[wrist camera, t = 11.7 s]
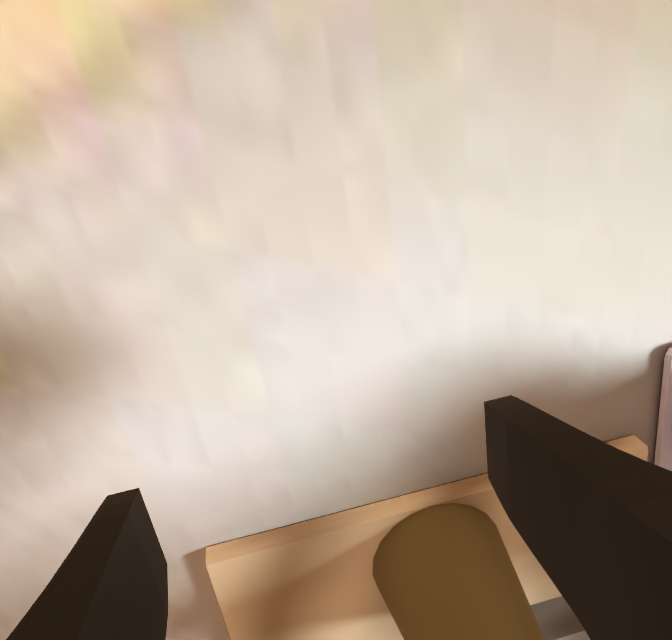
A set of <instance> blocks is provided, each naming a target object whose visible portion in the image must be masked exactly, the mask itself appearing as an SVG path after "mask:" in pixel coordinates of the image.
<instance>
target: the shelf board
mask: <svg viewBox="0 0 672 640" xmlns="http://www.w3.org/2000/svg"><path fill="white" fill-rule="evenodd" d="M605 443H607V444H609V445H611V446H613V447H615V448H618V449H620V450H622V451H624V452H627V453H629V454H631V455H634V456H636V457H638V458H640V459H643V460H645V461H647V458H648V446H647V445H646V444H644V443H643V442H642V441H641V440H640V439H639V438H638V437H636V436H635V435H630V436H627V437H623V438H619V439H615V440H611V441H608V442H605ZM449 503H456V504H463V505H470V506H473V507H475V508H477V509H479V510H481V511H483V512H485V513H486V514H487V515H488V516H489V517H490V518H491V520H492V521H493V522H494V523H495V524H496V526H497V529H498V531H499V533H500V536H501V538H502V540H503V543H504V545H505V547H506V550H507V552H508V554H509V557H510V559H511V562H512V564H513V566H514V569H515V571H516V573H517V576H518V578H519V580H520V583H521V585H522V587H523V590H524V592H525V595H526V597H527V599H528V602H529V604H530V606H531V609H532V611H533V613H534V616H535V618H536V620H537V623H538V625H539V628H540V630H541V632H542V635H543V637H544V639H545V640H590V638H589V636H588V635H587V633H586V631H585V629H584V628H583V626H582V625H581V623H580V622H579V620H578V618H577V617H576V615H575V614H574V612H573V611H572V609H571V608H570V606H569V605H568V603H567V602H566V601H565V599H564V598H563V596H562V595H561V593H560V592H559V591H558V589H557V588H556V586H555V585H554V583H553V582H552V580H551V579H550V578H549V576H548V575H547V573H546V572H545V570H544V569H543V568H542V566H541V565H540V563H539V562H538V560H537V559H536V558H535V556H534V555H533V553H532V552H531V550H530V549H529V547H528V546H527V545H526V543H525V542H524V540H523V539H522V537H521V536H520V534H519V533H518V531H517V530H516V528H515V527H514V525H513V524H512V523H511V521H510V519H509V518H508V516H507V514H506V512H505V510H504V508H503V506H502V505H501V503H500V501H499V499H498V497H497V495H496V493H495V491H494V489H493V487H492V485H491V483H490V481H489V479H488V473H486V474H482V475H479V476H475V477H471V478H467V479H464V480H460V481H456V482H452V483H448V484H445V485H441V486H437V487H433V488H429V489H426V490H422V491H418V492H414V493H410V494H407V495H403V496H399V497H395V498H391V499H388V500H384V501H380V502H376V503H372V504H369V505H365V506H361V507H357V508H354V509H350V510H346V511H342V512H338V513H335V514H331V515H327V516H323V517H319V518H316V519H312V520H308V521H304V522H300V523H297V524H293V525H289V526H285V527H281V528H278V529H274V530H270V531H266V532H263V533H259V534H255V535H251V536H247V537H244V538H240V539H236V540H232V541H228V542H225V543H221V544H217V545H213V546H209V547H206V568H207V571H208V574H209V577H210V580H211V583H212V586H213V588H214V591H215V594H216V597H217V600H218V603H219V606H220V609H221V612H222V615H223V618H224V621H225V624H226V627H227V630H228V633H229V636H230V639H231V640H404V639H403V637H402V635H401V633H400V631H399V629H398V627H397V625H396V623H395V621H394V619H393V617H392V615H391V613H390V611H389V609H388V607H387V605H386V603H385V601H384V599H383V597H382V595H381V593H380V591H379V589H378V587H377V585H376V582H375V580H374V577H373V575H372V573H373V558H374V555H375V553H376V551H377V549H378V546H379V544H380V542H381V541H382V539H383V538H384V537H385V536H386V535H387V534H388V532H389V531H390V530H391V529H392V528H393V526H395V525H396V524H398V523H399V522H401V521H402V520H403V519H405V518H406V517H408V516H409V515H411V514H412V513H415V512H417V511H420V510H422V509H425V508H428V507H430V506H434V505H442V504H449Z"/></svg>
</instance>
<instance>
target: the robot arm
mask: <svg viewBox="0 0 672 640" xmlns="http://www.w3.org/2000/svg"><path fill="white" fill-rule="evenodd" d="M484 407H485V426H486V445H487V464H488V479H489V481H490V483H491V485H492V487H493V489H494V491H495V493H496V495H497V497H498V499H499V501H500V503H501V505H502V506H503V508H504V510H505V512H506V514H507V516H508V518H509V519H510V521H511V523H512V524H513V525H514V527H515V528H516V530H517V531H518V533H519V534H520V536H521V537H522V539H523V540H524V542H525V543H526V545H527V546H528V547H529V549H530V550H531V552H532V553H533V555H534V556H535V558H536V559H537V560H538V562H539V563H540V565H541V566H542V568H543V569H544V570H545V572H546V573H547V575H548V576H549V578H550V579H551V580H552V582H553V583H554V585H555V586H556V588H557V589H558V591H559V592H560V593H561V595H562V596H563V598H564V599H565V601H566V602H567V603H568V605H569V606H570V608H571V609H572V611H573V612H574V614H575V615H576V617H577V618H578V620H579V622H580V623H581V625H582V626H583V628H584V629H585V631H586V633H587V635H588V636H589V638H590V640H672V347H671V348H670V349H668V351H667V352H666V354H665V358H664V369H663V379H662V389H661V400H660V410H659V420H658V431H657V441H656V452H655V462H654V464H652V463H650V462H647V461H645V460H643V459H640V458H638V457H636V456H634V455H631V454H629V453H627V452H624V451H622V450H620V449H618V448H615V447H613V446H611V445H609V444H607V443H605V442H603V441H600V440H598V439H596V438H594V437H592V436H590V435H588V434H586V433H584V432H582V431H580V430H578V429H576V428H574V427H572V426H570V425H568V424H567V423H565V422H563V421H561V420H559V419H557V418H555V417H553V416H551V415H549V414H547V413H546V412H544V411H542V410H540V409H538V408H536V407H534V406H532V405H530V404H528V403H526V402H524V401H522V400H520V399H518V398H516V397H514V396H512V395H510V396H506V397H502V398H498V399H494V400H490V401H486V402H484ZM167 618H168V581H167V562H166V559H165V557H164V554H163V551H162V549H161V546H160V543H159V541H158V538H157V535H156V533H155V530H154V527H153V525H152V522H151V519H150V517H149V514H148V511H147V509H146V506H145V503H144V501H143V498H142V495H141V493H140V490H139V488H137V489H133V490H129V491H124V492H120V493H116V494H112V495H108V496H107V497H106V499H105V500H104V502H103V503H102V504H101V506H100V507H99V509H98V510H97V512H96V513H95V515H94V516H93V518H92V519H91V521H90V522H89V524H88V526H87V527H86V529H85V530H84V532H83V533H82V535H81V536H80V538H79V539H78V541H77V542H76V544H75V545H74V547H73V548H72V550H71V551H70V553H69V554H68V556H67V557H66V559H65V560H64V562H63V563H62V565H61V566H60V568H59V569H58V570H57V572H56V573H55V575H54V576H53V578H52V579H51V581H50V582H49V584H48V585H47V586H46V588H45V589H44V591H43V592H42V593H41V595H40V596H39V597H38V599H37V600H36V601H35V603H34V604H33V605H32V607H31V608H30V609H29V611H28V612H27V613H26V615H25V616H24V617H23V619H22V620H21V621H20V623H19V624H18V625H17V627H16V628H15V629H14V630H13V632H12V633H11V634H10V635H9V637H8V638H7V639H6V640H165V638H166V628H167Z"/></svg>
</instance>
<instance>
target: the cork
mask: <svg viewBox="0 0 672 640" xmlns="http://www.w3.org/2000/svg"><path fill="white" fill-rule="evenodd" d="M372 575H373V577H374V580H375V582H376V585H377V587H378V589H379V591H380V593H381V595H382V597H383V599H384V601H385V603H386V605H387V607H388V609H389V611H390V613H391V615H392V617H393V619H394V621H395V623H396V625H397V627H398V629H399V631H400V633H401V635H402V637H403V639H404V640H545V639H544V637H543V635H542V632H541V630H540V628H539V625H538V623H537V620H536V618H535V616H534V613H533V611H532V609H531V606H530V604H529V602H528V599H527V597H526V595H525V592H524V590H523V587H522V585H521V583H520V580H519V578H518V576H517V573H516V571H515V569H514V566H513V564H512V562H511V559H510V557H509V554H508V552H507V550H506V547H505V545H504V543H503V540H502V538H501V536H500V533H499V531H498V529H497V526H496V524H495V523H494V522H493V521H492V520H491V518H490V517H489V516H488V515H487V514H486V513H485V512H483V511H481V510H479V509H477V508H475V507H473V506H470V505H463V504H456V503H449V504H442V505H434V506H430V507H428V508H425V509H422V510H420V511H417V512H415V513H412V514H411V515H409V516H408V517H406V518H405V519H403V520H402V521H401V522H399V523H398V524H396V525H395V526H393V528H392V529H391V530H390V531H389V532H388V534H387V535H386V536H385V537H384V538H383V539H382V541H381V542H380V544H379V546H378V549H377V551H376V553H375V555H374V558H373V573H372Z"/></svg>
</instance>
